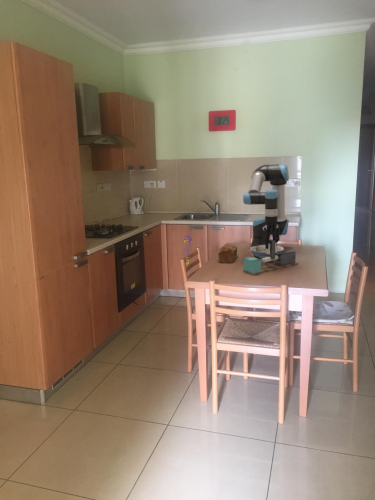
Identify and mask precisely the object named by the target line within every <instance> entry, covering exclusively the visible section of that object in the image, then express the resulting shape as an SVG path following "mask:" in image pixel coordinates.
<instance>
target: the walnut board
mask: <svg viewBox="0 0 375 500" xmlns="http://www.w3.org/2000/svg"><path fill="white" fill-rule="evenodd" d="M297 265H299V263H298V262H296V261H295V263H292V264H288V265H284V266H278V265H275V264H274V263H270V264H267V265H261V272H257V273H251V272H248V271H244V269H243V271H242V272H243V273H245V274H249V275H251V276H254V275H255V276H256V275H260V274H264V273H268V272H272V271H276V270H281V269H285V268H289V267H294V266H297Z"/></svg>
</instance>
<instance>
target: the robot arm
mask: <svg viewBox="0 0 375 500" xmlns="http://www.w3.org/2000/svg"><path fill="white" fill-rule="evenodd" d="M289 177H290V175H289V168H288V165H287V164H283V163H282V164H281V163H279V164H276V163H275V164H263V165H261V166H259V167H257V168H256V169H255V170H253V172H252V174H251V176H250V179H251V180H250V181H251V182H250V186H249V188H248V192H244V193H243V196H242V202H243V204H244V205H251V206H253V205H264V215H265V216H264V217H259V218H255V219H253V221H252V240H251V243H250V248H251V247H253V246H256V245H257V246H258V243H259V245H265V248H266V254H270V244H269V240H270V239H271V237H272V240H275V253H276V247H277V246H278V243H279V241H280V236H286V235H287V234H288V229H289V223H290V220H289V219H287V218H288V217H287V215H285V214H286V212H285V211H286V210H285V209H286V208H285V207H286V205H285V203H286V201H285V200H286V199H285V194H286V193H285V190H286V189H285V186H286V185H287V183H288V182H289V181H290V178H289ZM264 182H269V185H270V186H271V188H272V189H268V190H265V192H264V191H263V192H261V190H262V187H263V184H264Z"/></svg>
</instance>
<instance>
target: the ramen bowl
mask: <svg viewBox="0 0 375 500" xmlns="http://www.w3.org/2000/svg"><path fill="white" fill-rule="evenodd" d="M249 249H250V251H251V253H252V254H253V255H254V256H255V258H257V259H262V258H265V257H267V254H266V248H265V245H259V243H258V246H257V245H256V246H253V247H251V246H250V248H249ZM281 251H285V248H284V247H283V246H280V245H277V247H276V252H281Z"/></svg>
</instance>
